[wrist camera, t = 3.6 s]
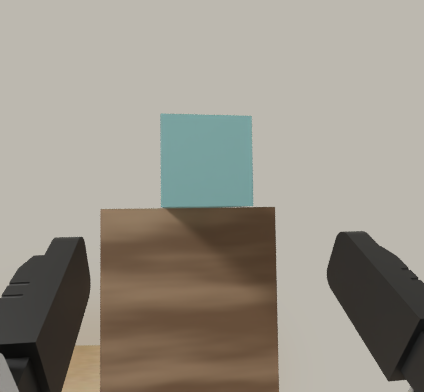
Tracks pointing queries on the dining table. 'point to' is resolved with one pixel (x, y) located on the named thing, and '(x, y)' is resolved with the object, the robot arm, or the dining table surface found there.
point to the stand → (188, 300)
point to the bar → (206, 161)
